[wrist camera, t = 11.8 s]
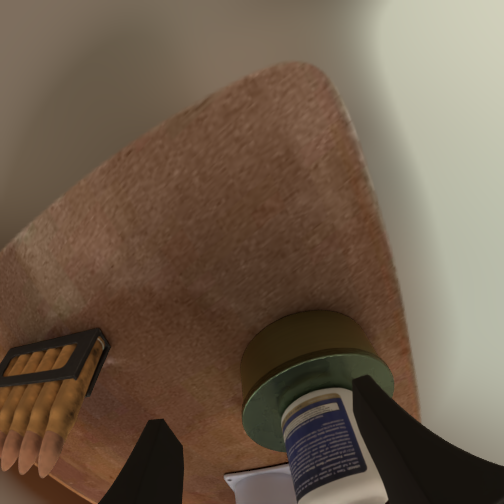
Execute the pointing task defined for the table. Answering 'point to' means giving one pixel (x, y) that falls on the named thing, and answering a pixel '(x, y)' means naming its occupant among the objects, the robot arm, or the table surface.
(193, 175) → the table surface
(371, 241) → the table surface
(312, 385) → the tin
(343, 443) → the pill bottle
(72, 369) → the rifle cartridge clip
